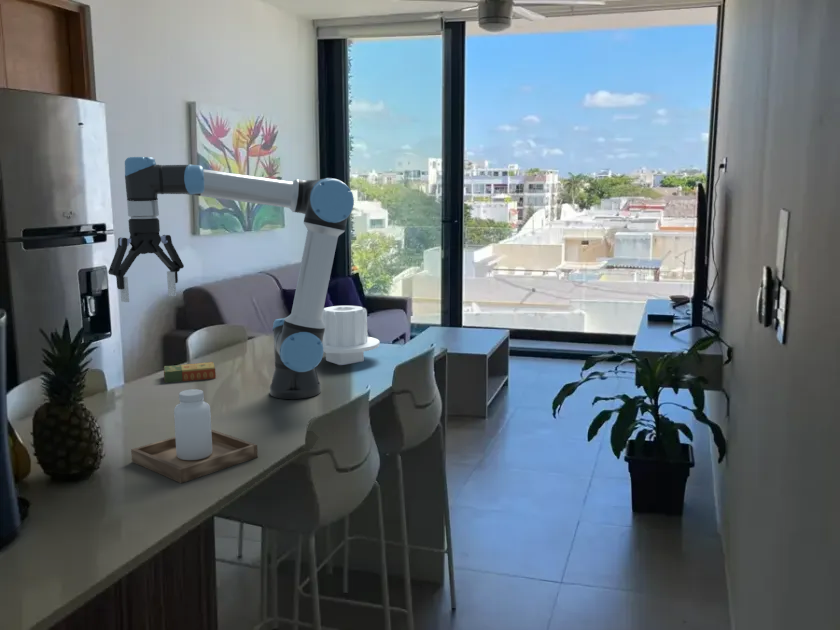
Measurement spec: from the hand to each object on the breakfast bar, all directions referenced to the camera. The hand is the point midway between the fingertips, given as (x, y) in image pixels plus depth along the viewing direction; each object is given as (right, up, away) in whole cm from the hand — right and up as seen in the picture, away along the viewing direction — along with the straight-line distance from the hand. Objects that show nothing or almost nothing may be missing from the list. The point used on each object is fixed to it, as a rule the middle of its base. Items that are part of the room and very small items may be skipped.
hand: (149, 298), depth 201 cm
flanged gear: (+45, -21, +71) cm, 86 cm away
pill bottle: (+20, -37, -27) cm, 50 cm away
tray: (+20, -37, -27) cm, 50 cm away
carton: (-4, -25, +49) cm, 55 cm away
